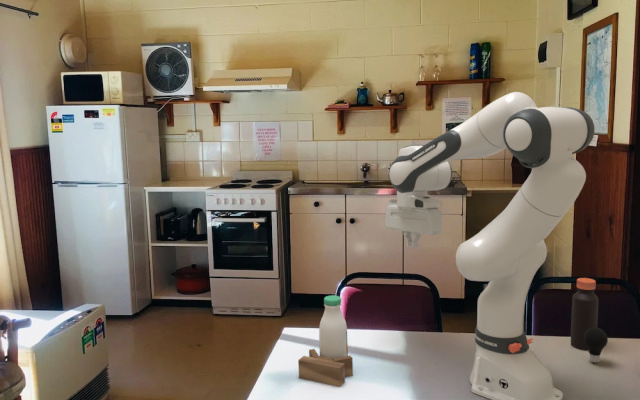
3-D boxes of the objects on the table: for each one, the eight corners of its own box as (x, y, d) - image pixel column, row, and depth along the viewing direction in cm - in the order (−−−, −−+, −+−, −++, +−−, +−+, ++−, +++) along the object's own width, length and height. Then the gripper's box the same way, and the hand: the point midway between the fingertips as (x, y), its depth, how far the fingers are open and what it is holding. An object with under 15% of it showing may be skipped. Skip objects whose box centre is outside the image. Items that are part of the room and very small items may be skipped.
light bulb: (609, 362, 149) (611, 327, 147) (602, 369, 145) (604, 333, 143) (586, 356, 153) (588, 322, 151) (579, 363, 149) (581, 328, 147)
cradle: (311, 365, 151) (310, 348, 151) (354, 373, 146) (353, 356, 145) (297, 377, 144) (296, 359, 144) (341, 387, 139) (341, 368, 138)
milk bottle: (345, 374, 145) (344, 302, 143) (317, 372, 147) (315, 301, 144) (349, 362, 153) (348, 293, 150) (323, 360, 154) (321, 292, 152)
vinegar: (568, 347, 159) (571, 281, 156) (572, 339, 164) (574, 275, 161) (594, 352, 155) (598, 285, 152) (597, 344, 161) (600, 278, 158)
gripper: (380, 199, 167) (380, 243, 168) (430, 202, 151) (430, 252, 152) (395, 198, 171) (395, 242, 172) (445, 201, 154) (445, 249, 155)
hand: (412, 246), depth 162 cm, fingers closed
